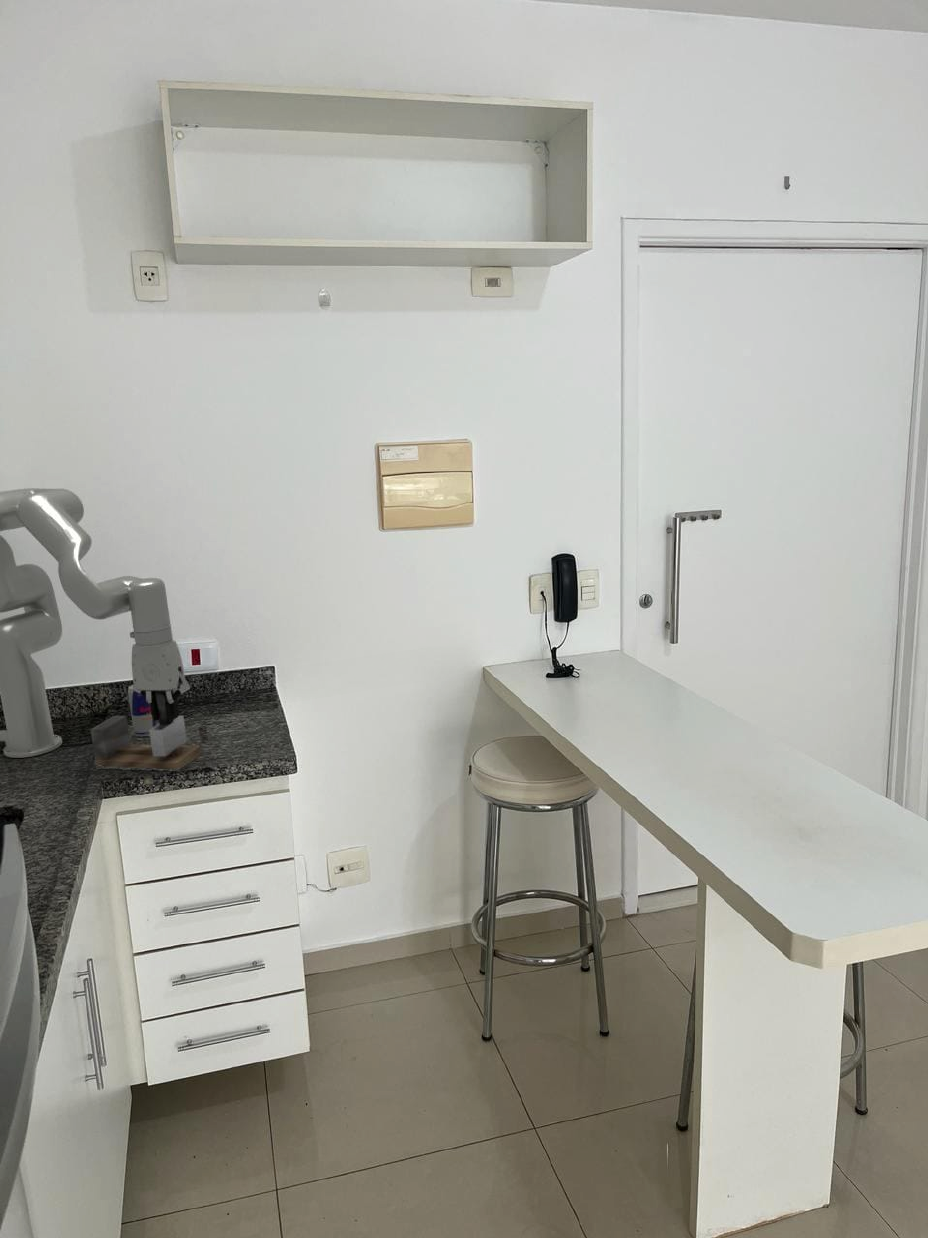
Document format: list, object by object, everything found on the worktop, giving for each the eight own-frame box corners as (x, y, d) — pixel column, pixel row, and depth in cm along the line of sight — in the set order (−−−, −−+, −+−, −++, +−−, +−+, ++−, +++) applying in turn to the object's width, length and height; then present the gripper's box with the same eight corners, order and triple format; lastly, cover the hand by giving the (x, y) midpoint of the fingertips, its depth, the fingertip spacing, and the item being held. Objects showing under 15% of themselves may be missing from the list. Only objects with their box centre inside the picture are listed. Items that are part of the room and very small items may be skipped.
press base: (95, 769, 204) (88, 730, 202) (121, 752, 214) (115, 714, 212) (178, 771, 200) (172, 731, 198) (201, 754, 209) (195, 715, 207)
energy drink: (150, 737, 222) (143, 689, 220) (130, 737, 223) (122, 689, 221) (162, 729, 227) (155, 682, 225) (142, 729, 229) (134, 682, 226)
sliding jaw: (153, 756, 201) (143, 693, 198) (174, 741, 209) (166, 681, 206) (165, 756, 200) (156, 694, 197) (187, 741, 209) (178, 681, 205)
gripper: (109, 641, 197) (122, 724, 202) (179, 641, 193) (191, 725, 198) (129, 632, 204) (141, 712, 209) (197, 632, 201) (208, 713, 205)
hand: (165, 718), depth 203 cm, fingers closed on sliding jaw, 3 cm apart
